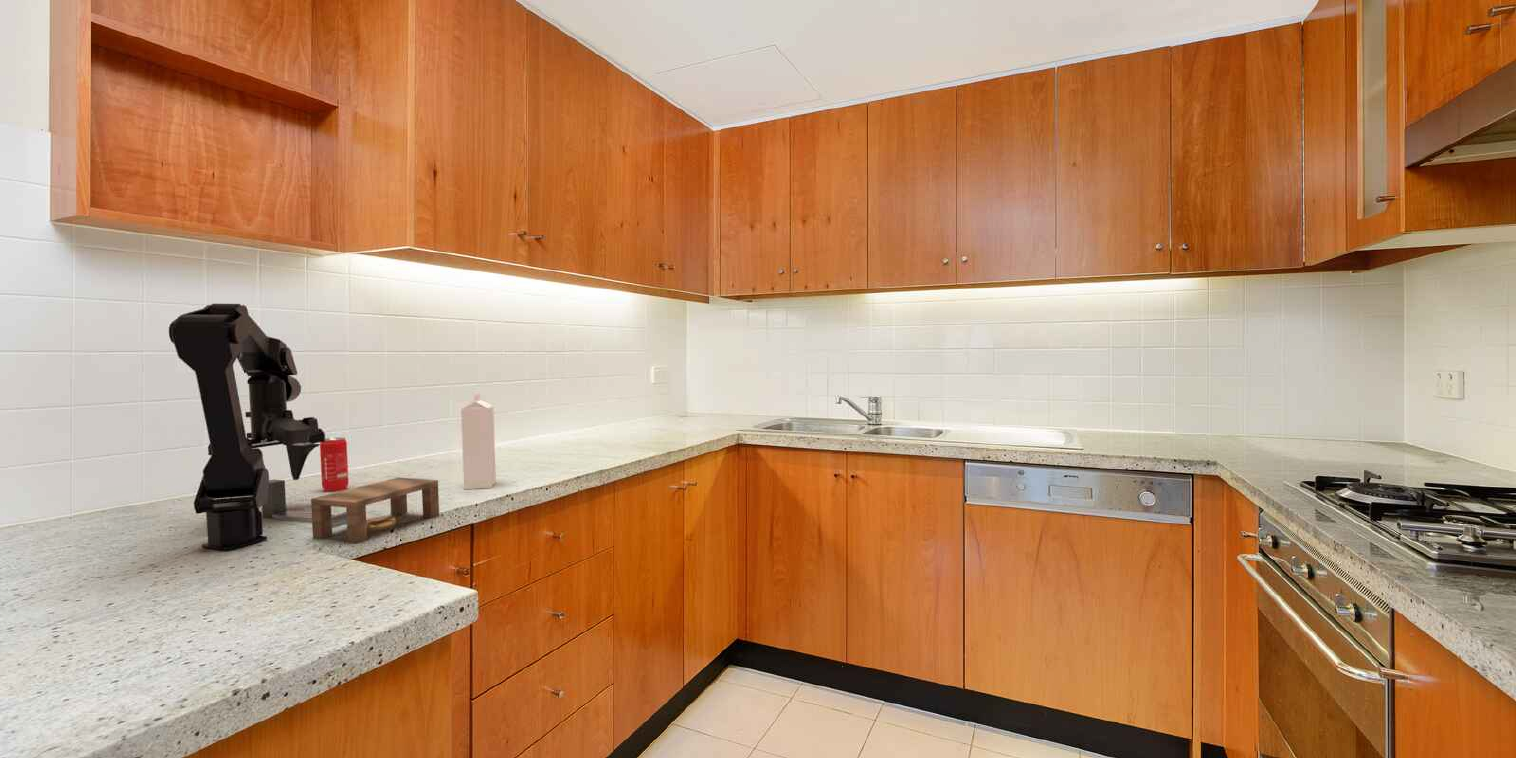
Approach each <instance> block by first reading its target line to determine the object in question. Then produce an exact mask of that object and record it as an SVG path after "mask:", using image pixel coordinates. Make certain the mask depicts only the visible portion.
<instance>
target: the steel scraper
mask: <svg viewBox="0 0 1516 758" xmlns="http://www.w3.org/2000/svg"><path fill="white" fill-rule="evenodd" d="M285 481H286V480H284V479H271V480H270V479H269V488H268V501H267V503H266V504H264V505H263V506H261V509H262V510H261V511H262V518H267V519H274V520H283V521H292V522H294V521H295V522H303V523H311V524H312V512H308V511H307V512H306V511H296V510H295V511H292V510H287V499H286V498H287V497H286V495H287V494H286V482H285ZM331 518H332V527H333V528H335V527H339V526H342V525H347V515H346V511H345V512H342V513H339V514H331Z"/></svg>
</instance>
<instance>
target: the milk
mask: <svg viewBox="0 0 1516 758" xmlns="http://www.w3.org/2000/svg"><path fill="white" fill-rule="evenodd" d="M473 399H474V400H473V401H472V402H471V403H469V404H467V405H466V406H464V407H461V409H460V416H461V441H462V442H461V443H462V445H461V446H462V462H463V463H462V469H463V472H462V473H463V489H464V490H478V489H479V490H480V489H481V488H482V489H491V488H492V487H493V486H494V485H495V484H496V483H497V477H496V476H497V473H496V450H495V445H496V443H495V421H494V420H495V419H494V416H495V415H494V406H493V404H490V403H488V402H486V401H485V400H482V399H481V394H480V393H476V394H474V395H473Z"/></svg>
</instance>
